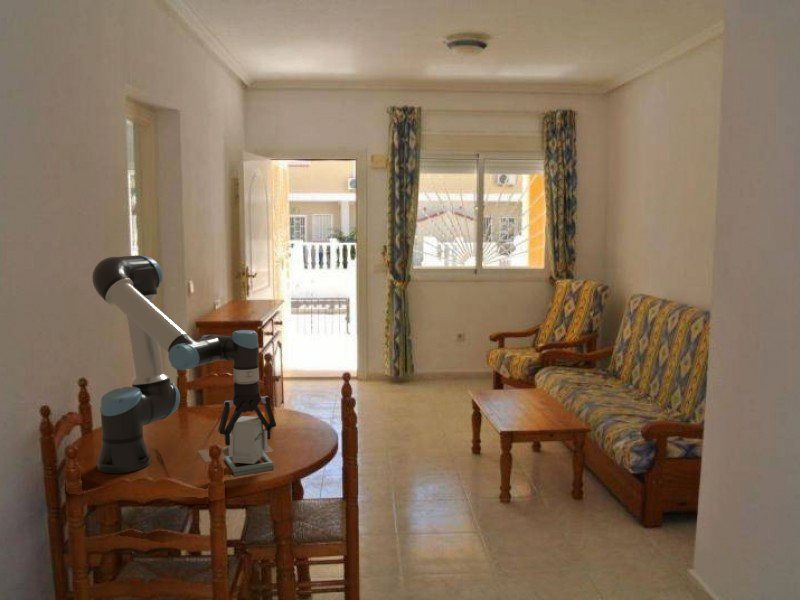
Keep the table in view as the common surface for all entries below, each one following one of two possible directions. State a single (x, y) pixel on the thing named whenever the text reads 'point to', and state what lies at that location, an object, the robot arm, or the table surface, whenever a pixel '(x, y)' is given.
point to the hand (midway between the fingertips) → (248, 452)
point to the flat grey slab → (225, 452)
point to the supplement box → (247, 440)
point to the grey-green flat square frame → (249, 466)
